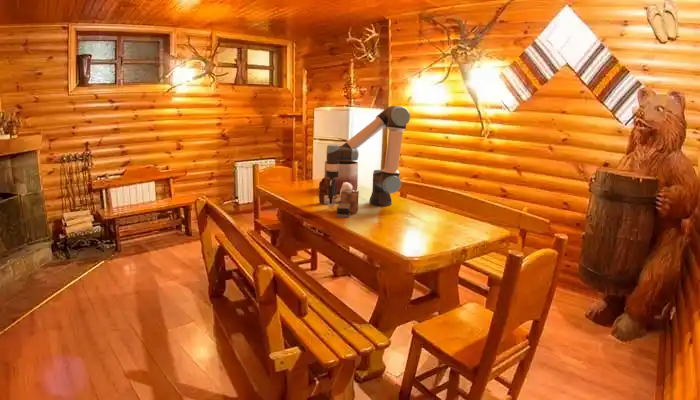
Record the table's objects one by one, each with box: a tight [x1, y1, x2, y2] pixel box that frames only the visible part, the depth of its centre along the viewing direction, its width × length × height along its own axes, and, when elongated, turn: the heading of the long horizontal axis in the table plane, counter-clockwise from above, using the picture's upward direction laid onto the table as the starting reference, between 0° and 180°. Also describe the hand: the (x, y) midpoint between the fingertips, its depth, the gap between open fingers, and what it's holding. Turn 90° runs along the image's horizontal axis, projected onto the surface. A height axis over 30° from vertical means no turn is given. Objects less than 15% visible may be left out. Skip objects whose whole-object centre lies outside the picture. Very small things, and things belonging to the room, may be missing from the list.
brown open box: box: [341, 189, 360, 215], centre depth 268 cm, size 10×10×13 cm
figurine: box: [339, 182, 354, 196], centre depth 301 cm, size 10×10×12 cm
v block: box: [336, 203, 351, 219], centre depth 258 cm, size 7×10×6 cm
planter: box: [323, 160, 359, 194], centre depth 329 cm, size 25×25×22 cm
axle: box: [323, 194, 341, 205], centre depth 268 cm, size 18×6×6 cm, turn 85°
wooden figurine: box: [318, 177, 338, 205], centre depth 287 cm, size 12×6×18 cm, turn 116°
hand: (331, 207), depth 270 cm, fingers closed on axle, 5 cm apart
